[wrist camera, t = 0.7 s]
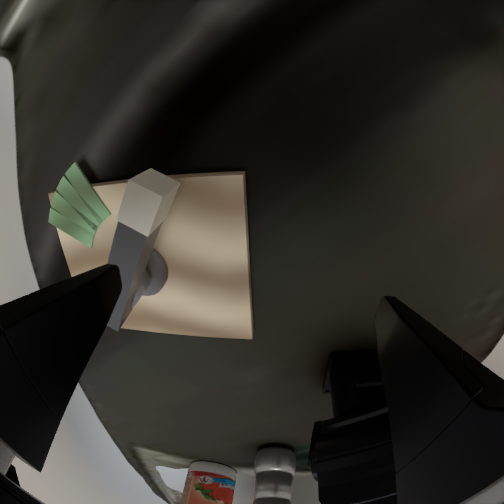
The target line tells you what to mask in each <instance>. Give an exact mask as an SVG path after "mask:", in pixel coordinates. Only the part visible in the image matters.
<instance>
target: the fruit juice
mask: <svg viewBox="0 0 504 504" xmlns="http://www.w3.org/2000/svg"><path fill="white" fill-rule="evenodd" d="M235 482H236V472H235V470H233V469H232V468H230V467H228V466H225V465H222V464H218V463H213V462H206V461H197V462H193V463H191V465H190V467H189V470H188V474H187V478H186V482H185V487H184V490H183V494H182V498H181V503H180V504H232V501H233V494H234V488H235Z"/></svg>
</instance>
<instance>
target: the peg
mask: <svg viewBox="0 0 504 504" xmlns="http://www.w3.org/2000/svg"><path fill="white" fill-rule="evenodd" d="M179 186H180V182H178V181H176V180H174V179H172V178H170V177H168V176H166V175H164V174H162V173H160V172H158V171H156V170H154V169H151V168H150V169H148V170H146V171H144V172H142V173H140V174H138V175H136V176H135V177H133V178H131V179H129V180H128V183H127V186H126V189H125V193H124V196H123V199H122V202H121V206H120V209H119V212H118V216H117V221H118V223H117V227H116V231H115V234H114V238H113V242H112V246H111V250H110V254H109V258H108V263H107V264H115V265H117V266H118V267H119V269H120V275H121V280H122V292H121V294H120V296H119V299H118V301H117V303H116V306H115V308H114V310H113V313H112V315H111V317H110V320H109V322H108V324H107V326H109V327H111V328H113V329H114V330H116V331H119V330H120V328H121V326H122V325H123V323H124V322H125V320H126V319H127V317H128V315H129V314H130V312H131V311H132V309H133V307H134V306H135V305H136V304H137V302H138V301H139V299H140V298H141V296H142V295H143V293H144V292H145V290H146V289H147V287H148V286H149V284H150V277H149V274H148V272H147V271H146V270H145V269H146V266H147V263H148V261H149V258H150V255H151V252H152V249H153V247H154V244H155V241H156V238H157V236H158V233H159V230H160V228H161V225H162V223H163V221H164V220H165V219H166V217H167V215H168V212H169V210H170V207H171V205H172V202H173V200H174V198H175V195H176V193H177V190H178V188H179Z"/></svg>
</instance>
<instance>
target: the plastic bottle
mask: <svg viewBox="0 0 504 504" xmlns="http://www.w3.org/2000/svg"><path fill="white" fill-rule="evenodd" d="M295 468H296V458H295V455H294V453H293V452H292V451H291V450H290V449H287V448H283V447H267V448H263V449H261V450H260V451H259V452H258V453H257V455H256V458H255V461H254V471H255V475H256V476H255V497H254V499H255V500H254V503H253V504H291V502H290V500H291V489H292V482H293V476H294V473H295Z"/></svg>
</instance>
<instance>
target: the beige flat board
mask: <svg viewBox="0 0 504 504" xmlns="http://www.w3.org/2000/svg"><path fill="white" fill-rule="evenodd" d="M65 175H66V176H67V177H66V176H65ZM65 175H64V176H63V177H62V179H61V181H60V183H59V185H58V187H57V188H56V190H54V191H52V192H51V193H49V199H50V203H51V208H50V214H49V223H51V224H52V225H54V226H55V227H57V231H58V234H59V238H60V241H61V245H62V248H63V251H64V254H65V258H66V261H67V264H68V267H69V270H70V273H71V275H72V277H73V276H76V275H78V274H81V273H84V272H86V271H89V270H91V269H94V268H97V267H99V266H102V265H105V264H107V263H108V258H109V254H110V250H111V246H112V242H113V238H114V234H115V231H116V227H117V223H118V221H117V216H118V212H119V209H120V206H121V202H122V199H123V196H124V193H125V189H126V186H127V183H128V180H129V179H126V180H118V181H110V182H102V183H95V184H90V182H89V181H88V179H87V178H86V176H85V175H84V173H83V172H82V170H81V168H80V167H79V165H78V164H77V162H74V164H73V165H72V166H71V167H70V168H69V169H68V171H67V172H66V173H65ZM167 176H168V177H170V178H172V179H174V180H176V181H178V182H180V186H179V188H178V190H177V193H176V195H175V198H174V200H173V202H172V205H171V207H170V210H169V212H168V215H167V217H166V219H165V220H164V221H163V223H162V225H161V228H160V230H159V233H158V236H157V238H156V241H155V244H154V247H153V249H152V252H151V255H150V258H149V261H148V263H147V266H146V269H145V270H146V271H147V272H148V274H149V277H150V284H149V286H148V287H147V289H146V290H145V292H144V293H143V295H142V296H141V298H140V299H139V301H138V302H137V304H136V305H135V306H134V307H133V309H132V311H131V312H130V314H129V315H128V317H127V319H126V320H125V322H124V323H123V325H122V326H121V328H126V329H133V330H141V331H150V332H159V333H169V334H180V335H191V336H204V337H220V338H239V339H252V337H253V330H254V329H253V311H252V292H251V274H250V255H249V236H248V217H247V197H246V178H245V171H235V172H212V173H194V174H180V175H167ZM67 178H68V179H69V180H68V179H67Z"/></svg>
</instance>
